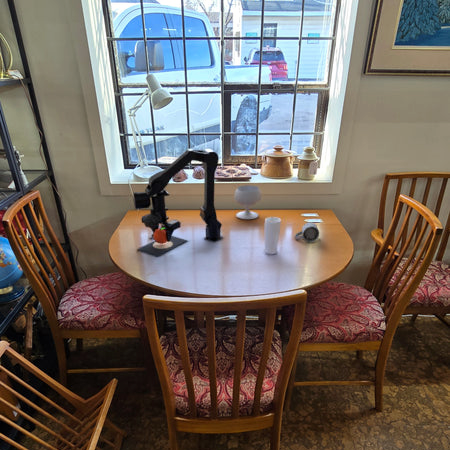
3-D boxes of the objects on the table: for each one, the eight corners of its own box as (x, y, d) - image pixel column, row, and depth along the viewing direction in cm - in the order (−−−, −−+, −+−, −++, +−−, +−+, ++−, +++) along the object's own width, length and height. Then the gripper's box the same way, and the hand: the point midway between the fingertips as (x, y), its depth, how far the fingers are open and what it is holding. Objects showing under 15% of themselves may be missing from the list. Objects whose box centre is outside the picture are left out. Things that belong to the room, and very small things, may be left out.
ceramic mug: (316, 235, 178) (318, 220, 173) (318, 242, 171) (320, 226, 167) (294, 235, 178) (295, 220, 174) (295, 242, 172) (296, 226, 167)
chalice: (236, 211, 208) (236, 184, 200) (260, 212, 206) (262, 185, 198) (233, 220, 196) (233, 191, 188) (259, 221, 195) (260, 192, 187)
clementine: (164, 238, 173) (162, 223, 169) (174, 242, 169) (173, 227, 165) (151, 243, 167) (149, 229, 164) (161, 247, 164) (159, 232, 160)
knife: (154, 240, 174) (154, 238, 173) (143, 238, 176) (142, 235, 175) (182, 223, 193) (181, 220, 192) (171, 221, 195) (171, 218, 195)
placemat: (187, 241, 173) (187, 240, 172) (157, 257, 159) (157, 255, 159) (168, 235, 179) (167, 234, 178) (137, 250, 165) (137, 248, 165)
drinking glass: (268, 256, 159) (270, 223, 151) (260, 250, 164) (261, 218, 156) (281, 253, 161) (284, 220, 153) (272, 247, 166) (275, 215, 158)
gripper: (129, 207, 158) (135, 241, 166) (161, 215, 149) (165, 251, 157) (148, 200, 166) (152, 233, 174) (180, 208, 156) (182, 242, 165)
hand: (162, 239), depth 167 cm, fingers closed on clementine, 7 cm apart
